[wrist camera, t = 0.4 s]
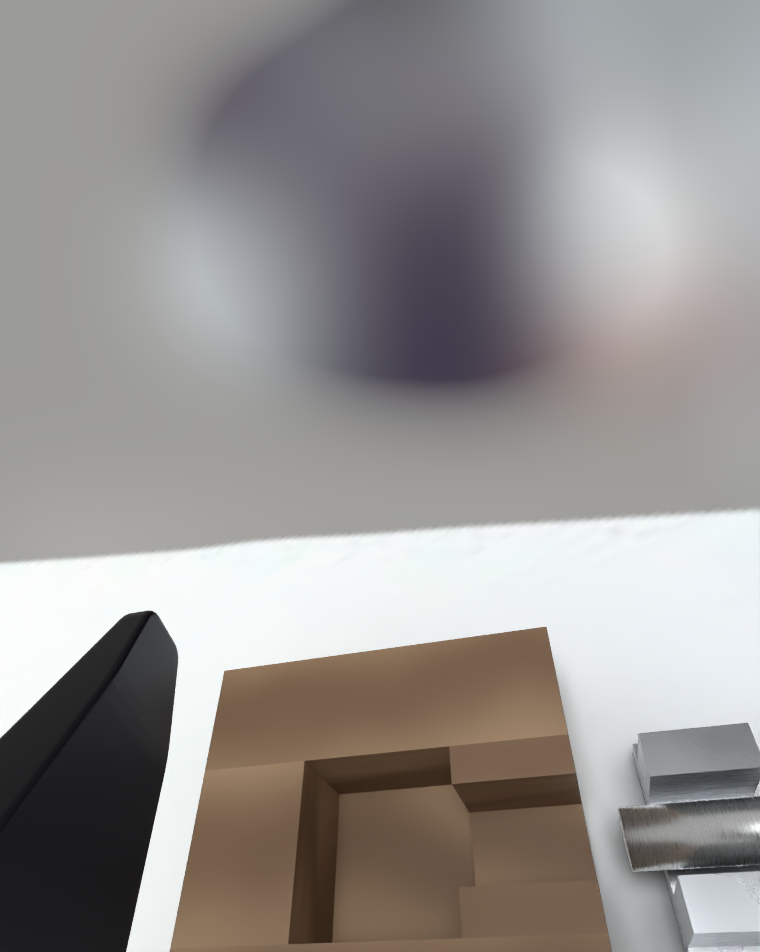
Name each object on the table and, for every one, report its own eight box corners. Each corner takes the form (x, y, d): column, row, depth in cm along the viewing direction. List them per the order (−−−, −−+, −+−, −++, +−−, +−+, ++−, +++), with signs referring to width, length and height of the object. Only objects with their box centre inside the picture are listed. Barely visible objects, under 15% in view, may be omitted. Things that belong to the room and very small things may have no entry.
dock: (648, 1137, 15) (651, 1151, 13) (211, 1124, 18) (134, 1132, 15) (556, 679, 24) (546, 626, 21) (267, 713, 26) (224, 670, 23)
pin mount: (813, 978, 16) (844, 961, 14) (692, 980, 17) (702, 964, 15) (726, 746, 21) (739, 702, 18) (632, 754, 21) (632, 713, 19)
